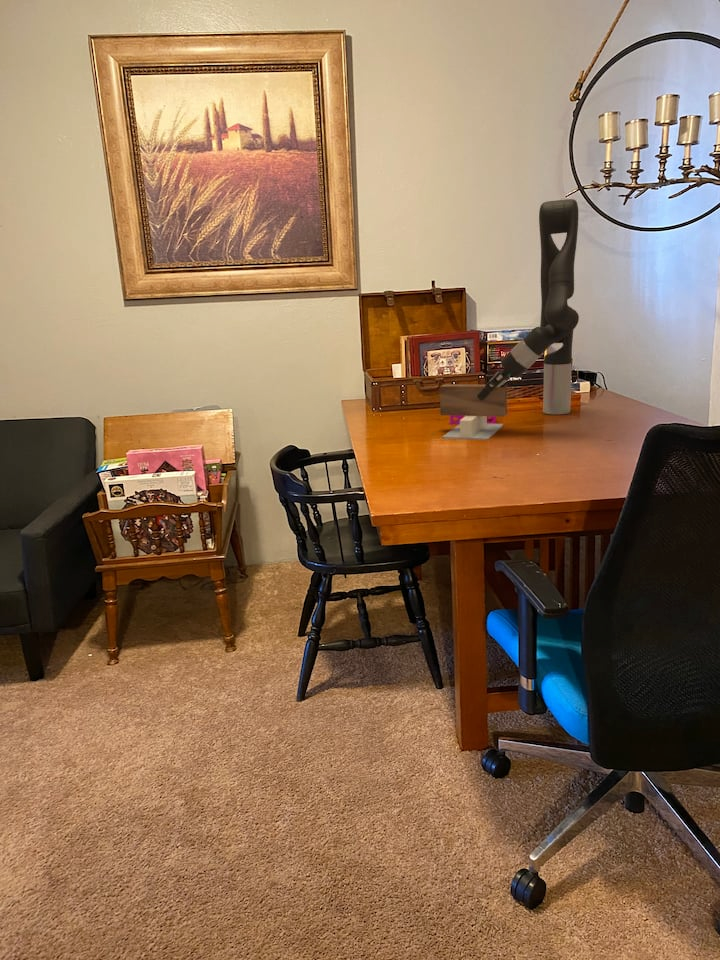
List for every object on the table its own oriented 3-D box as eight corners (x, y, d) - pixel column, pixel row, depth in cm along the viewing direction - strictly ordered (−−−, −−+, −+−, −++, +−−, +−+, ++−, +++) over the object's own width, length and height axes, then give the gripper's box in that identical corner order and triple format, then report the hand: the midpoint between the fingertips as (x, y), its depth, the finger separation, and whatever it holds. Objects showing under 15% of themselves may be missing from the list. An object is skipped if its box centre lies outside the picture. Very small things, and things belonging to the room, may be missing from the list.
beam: (444, 412, 221) (444, 384, 218) (507, 413, 213) (507, 384, 211) (440, 415, 217) (439, 386, 214) (504, 416, 209) (504, 386, 207)
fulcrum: (461, 425, 229) (461, 407, 227) (503, 426, 223) (503, 408, 222) (442, 440, 210) (441, 420, 208) (487, 441, 204) (487, 421, 202)
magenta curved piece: (495, 421, 233) (495, 399, 231) (495, 425, 227) (495, 403, 225) (450, 422, 235) (450, 401, 233) (450, 426, 230) (449, 404, 228)
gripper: (516, 347, 211) (479, 384, 219) (506, 352, 199) (468, 391, 206) (533, 364, 211) (496, 401, 218) (524, 370, 198) (485, 409, 206)
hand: (482, 396), depth 212 cm, fingers open, 8 cm apart
